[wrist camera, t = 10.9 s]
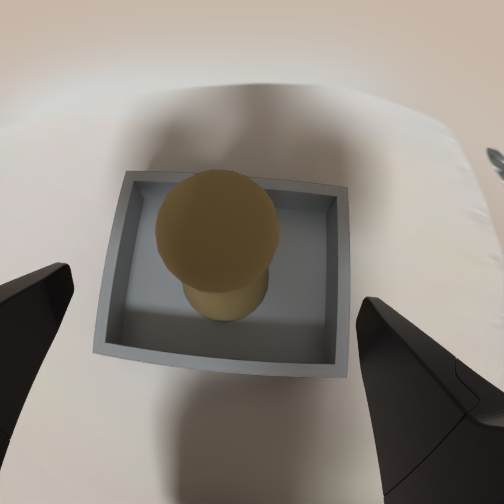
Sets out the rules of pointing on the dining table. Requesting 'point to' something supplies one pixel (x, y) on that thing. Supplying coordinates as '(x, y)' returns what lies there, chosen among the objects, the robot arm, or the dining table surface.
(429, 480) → the robot arm
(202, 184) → the cork
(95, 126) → the dining table surface
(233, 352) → the tray
